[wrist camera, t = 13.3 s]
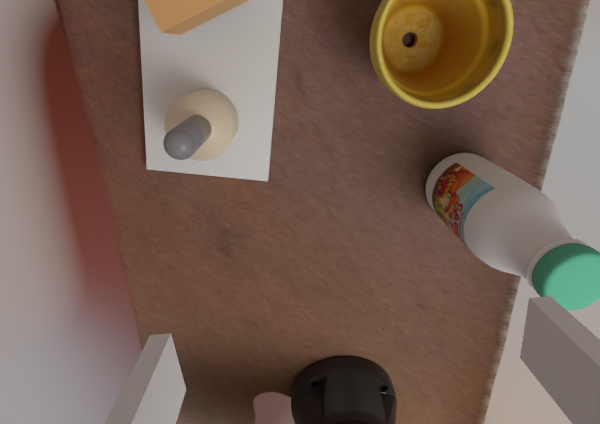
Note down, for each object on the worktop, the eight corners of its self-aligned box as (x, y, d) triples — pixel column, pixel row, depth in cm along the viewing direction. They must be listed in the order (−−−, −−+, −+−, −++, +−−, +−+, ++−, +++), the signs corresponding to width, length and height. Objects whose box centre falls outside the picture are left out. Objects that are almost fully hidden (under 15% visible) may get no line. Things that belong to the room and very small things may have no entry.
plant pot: (348, 90, 39) (365, 103, 30) (364, -27, 35) (390, -53, 26) (446, 100, 39) (492, 115, 30) (473, -14, 35) (535, -36, 26)
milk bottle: (468, 136, 41) (612, 207, 23) (503, 186, 43) (660, 287, 25) (410, 181, 43) (499, 281, 24) (447, 227, 45) (553, 348, 27)
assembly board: (268, 177, 42) (259, 229, 30) (150, 166, 41) (92, 214, 29) (291, -98, 32) (291, -185, 20) (137, -120, 32) (41, -226, 19)
